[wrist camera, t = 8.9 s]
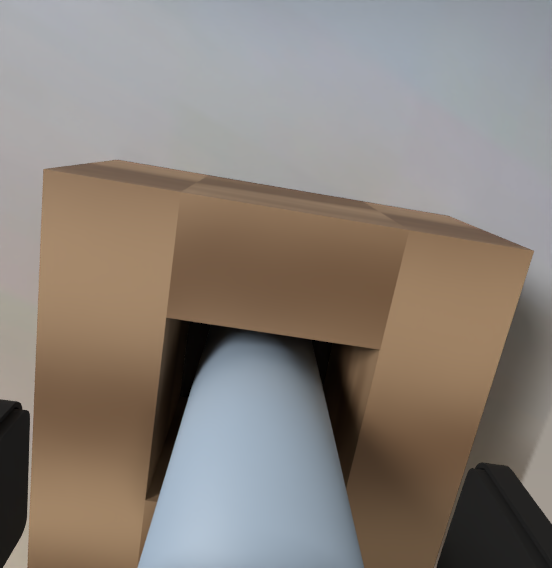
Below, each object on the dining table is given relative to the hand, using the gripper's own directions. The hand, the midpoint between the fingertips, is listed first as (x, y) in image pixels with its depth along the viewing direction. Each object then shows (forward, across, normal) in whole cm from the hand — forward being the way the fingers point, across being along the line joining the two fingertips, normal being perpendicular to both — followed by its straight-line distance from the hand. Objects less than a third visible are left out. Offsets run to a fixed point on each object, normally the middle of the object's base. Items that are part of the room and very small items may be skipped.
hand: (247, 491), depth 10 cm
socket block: (+9, 0, +1) cm, 9 cm away
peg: (+9, 0, +1) cm, 9 cm away
